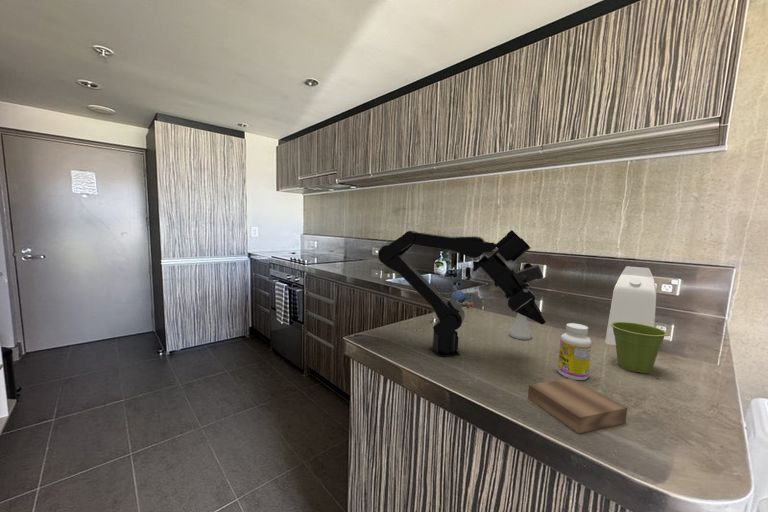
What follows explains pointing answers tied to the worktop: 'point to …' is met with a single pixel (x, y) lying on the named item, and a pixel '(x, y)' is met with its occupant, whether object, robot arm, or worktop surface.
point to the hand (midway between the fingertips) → (542, 318)
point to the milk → (633, 300)
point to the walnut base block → (577, 405)
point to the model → (462, 298)
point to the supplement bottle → (575, 352)
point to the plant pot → (637, 345)
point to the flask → (520, 328)
